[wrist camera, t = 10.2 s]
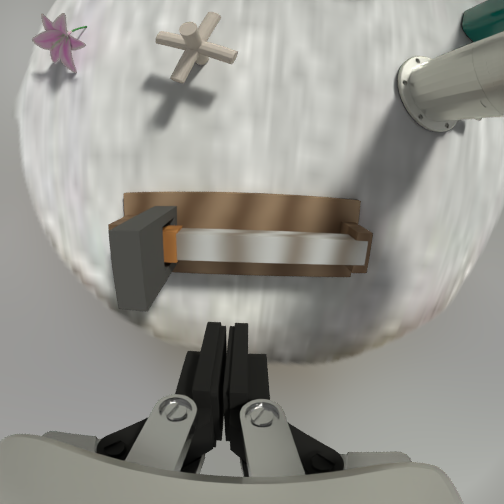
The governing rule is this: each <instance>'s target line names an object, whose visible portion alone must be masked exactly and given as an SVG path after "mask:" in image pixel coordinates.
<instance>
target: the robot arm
mask: <svg viewBox="0 0 504 504" xmlns="http://www.w3.org/2000/svg"><path fill="white" fill-rule="evenodd" d="M398 89H399V93H400V96H401V100H402V102H403V104H404V106H405V108H406V109H407V111H408V112H409V114H410V115H411V116H412V118H413V119H414V120H415V121H416V122H417V123H418V124H420V125H421V126H422V127H424V128H425V129H428V130H430V131H434V132H444V131H448V130H450V129H452V128H453V127H454V126H455V125H456V123H457V121H458V120H463V119H476V120H478V121H480V120H481V119H482V118H489V117H504V31H503V32H500V33H498V34H495V35H493V36H490V37H487V38H485V39H482V40H479V41H476V42H474V43H471V44H468V45H466V46H463V47H461V48H458V49H456V50H453V51H451V52H448V53H446V54H443V55H441V56H439V57H436V58H434V59H431V58H428V57H424V56H415V57H412V58H410V59H408V60H407V61H405V62H404V63H403V64H402V66H401V68H400V70H399V73H398ZM223 419H225V435H226V441H230V450H231V451H233V452H234V453H235V454H236V455H237V456H239V457H240V463H241V469H242V475H243V477H229V476H213V475H203V474H200V471H201V468H202V465H203V462H204V459H205V453H207V452H209V451H210V450H212V449H213V447H216V440H220V441H221V440H222V431H223ZM0 504H463V501H462V499H461V497H460V495H459V493H458V491H457V490H456V487H455V486H454V484H453V483H452V481H451V480H450V478H449V477H448V476H447V474H446V473H445V472H444V471H443V470H441V469H440V468H438V467H436V466H434V465H430V464H425V463H416V462H412V461H411V459H410V458H409V457H408V456H407V454H404V453H402V452H348V453H347V454H339V453H338V452H336V451H335V450H333V449H332V448H330V447H328V446H326V445H324V444H323V443H321V442H319V441H317V440H316V439H314V438H312V437H310V436H309V435H307V434H305V433H303V432H302V431H300V430H299V429H297V428H296V427H294V426H292V425H291V424H289V423H288V422H287V419H286V416H285V413H284V411H283V409H282V407H281V406H280V405H278V404H277V403H275V402H273V401H271V400H270V395H269V382H268V369H267V357H266V354H248V323H235V326H230V330H229V339H228V348H226V326H221V322H208V323H207V327H206V331H205V335H204V339H203V344H202V348H201V352H197V351H188V352H187V355H186V358H185V361H184V365H183V368H182V372H181V375H180V379H179V382H178V386H177V389H176V393H175V394H174V395H168V396H165V397H163V398H161V399H160V400H159V401H158V402H157V403H156V405H155V407H154V408H153V410H152V412H151V414H150V416H149V417H148V418H146V419H144V420H142V421H140V422H137V423H135V424H133V425H131V426H129V427H126V428H124V429H122V430H119V431H117V432H114V433H112V434H110V435H107V436H106V437H104V438H102V439H97V437H96V436H88V435H79V434H71V433H64V432H57V431H49V432H47V433H45V434H44V435H43V436H38V435H30V434H15V435H10V436H7V437H5V438H4V439H2V440H1V441H0Z"/></svg>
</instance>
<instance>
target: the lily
mask: <svg viewBox="0 0 504 504" xmlns="http://www.w3.org/2000/svg"><path fill="white" fill-rule="evenodd" d="M41 17H42V23H43V26H44V28H45V30H46V31H44V32H42V33H40V34H38V35H36V36H35V37H33V39H32V41H33V42H34V43H35V44H36V45H37V46H39V47H41V48H43V49H46V50H50V55H51V59H52V61H53V62H54V63H56V62H57V61H58V60H59V59H60V60H61V62H62V63H63V64H64V65H65V66H66V67H67V68H68V69H69V70H71V71H72V72H74V73H77V71H76V68H75V65H74V62H73V58H72V53H71V50H78V49H81V48H83V47H85V46H86V44H85V43H83V42H81V41H79V40H78V39H76V38H74V37H72V36H70V34H71V33H72V32H73V31H76V30H78V29H82V28H86V27H87V26H84V27H80V28H77V29H74V30H72V31H70V32H69V31H67V27H66V15H65V13H62V14H61V15H59V16H58V17H57V18H56V19H55V21H54V22H53V23H52V22H51V21H50V20H49V19H48V18H47V17H46V16H45V15H44V14H41ZM69 37H70V38H69Z"/></svg>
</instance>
